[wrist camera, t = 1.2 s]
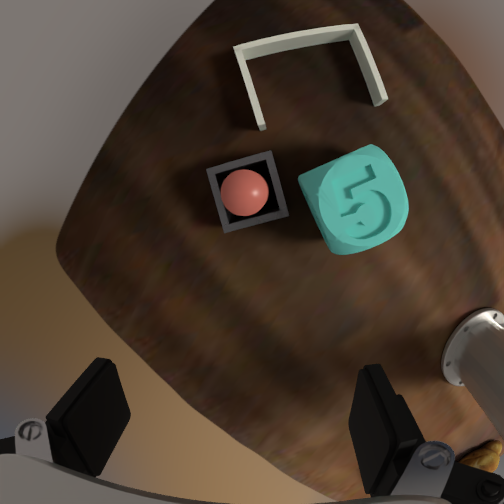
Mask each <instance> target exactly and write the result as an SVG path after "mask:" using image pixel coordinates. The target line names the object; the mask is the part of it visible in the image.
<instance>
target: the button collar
mask: <svg viewBox="0 0 504 504" xmlns="http://www.w3.org/2000/svg"><path fill="white" fill-rule="evenodd" d="M266 162H267V165H268V168H269V172H270V176H271V179H272V183H273V186H274V190H275V194H276V197H277V201H278V205H279V208H277V209H273V210H269V211H265V212H261V213H258V214H254V215H250V216H246V217H243V218H239V219H235V218H234V214H233V213H232V212H230V211H229V210H228V209H227V208H226V207H225V206H224V204H223V202H222V199H221V187H222V184H223V182H224V179H223V175H224V174H227V173H231V172H234V171H237V170H241V169H245V168H248V167H252V166H255V165H259V164H263V163H266ZM206 171H207V174H208V178H209V181H210V185H211V189H212V192H213V196H214V199H215V203H216V206H217V210H218V213H219V217H220V220H221V223H222V227H223V230H224V233H226V232H230V231H234V230H238V229H241V228H245V227H249V226H253V225H256V224H260V223H264V222H268V221H272V220H276V219H280V218H284V217H287V216H289V213H288V209H287V206H286V202H285V198H284V194H283V191H282V187H281V183H280V180H279V176H278V172H277V169H276V165H275V162H274V158H273V155H272V151H271V150H270V151H267V152H263V153H259V154H256V155H252V156H249V157H245V158H242V159H238V160H235V161H231V162H228V163H225V164H221V165H218V166H215V167H212V168H208V169H206Z"/></svg>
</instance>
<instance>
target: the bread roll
mask: <svg viewBox="0 0 504 504" xmlns="http://www.w3.org/2000/svg"><path fill="white" fill-rule="evenodd" d="M501 449H502V444H501V442H500V441H498V440H495V441H491V442H489V443H487V444H486V445H484V446H483V447H482V448H480V449H477V450H475V451H473V452H471V453H469V454H467V455H466V456H465V457H463V458H462V459H461V460H460V461H458V462H459V463H462V464H465V465H468V466H471V467H475V468H478V469H481V470H485V471H488V472H491V473H492V472H494V471H495V470H496V469H497V466H498V464H499V459H500V458H499V454H500V452H501Z"/></svg>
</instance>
